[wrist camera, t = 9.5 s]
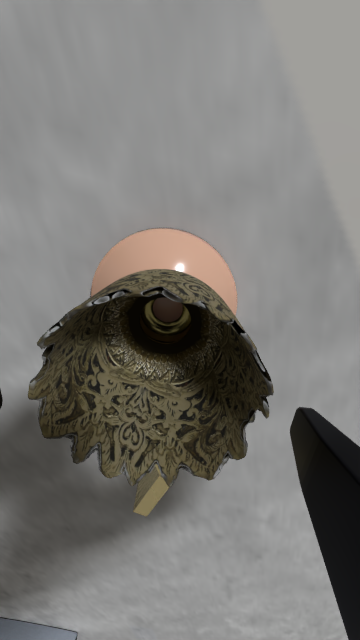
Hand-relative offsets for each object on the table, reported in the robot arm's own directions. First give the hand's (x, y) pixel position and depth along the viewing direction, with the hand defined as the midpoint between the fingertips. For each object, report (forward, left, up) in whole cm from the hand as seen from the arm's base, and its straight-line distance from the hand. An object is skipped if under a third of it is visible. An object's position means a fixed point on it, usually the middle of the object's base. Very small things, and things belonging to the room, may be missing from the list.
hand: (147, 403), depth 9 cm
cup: (0, 0, -8) cm, 8 cm away
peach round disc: (0, 0, -9) cm, 9 cm away
